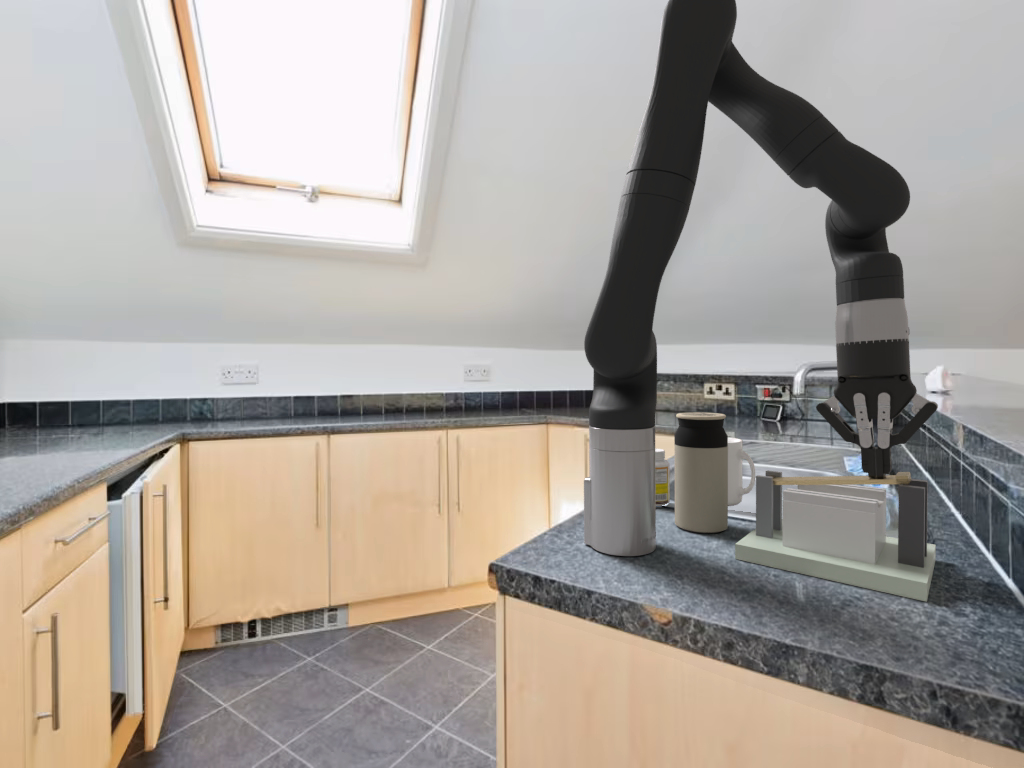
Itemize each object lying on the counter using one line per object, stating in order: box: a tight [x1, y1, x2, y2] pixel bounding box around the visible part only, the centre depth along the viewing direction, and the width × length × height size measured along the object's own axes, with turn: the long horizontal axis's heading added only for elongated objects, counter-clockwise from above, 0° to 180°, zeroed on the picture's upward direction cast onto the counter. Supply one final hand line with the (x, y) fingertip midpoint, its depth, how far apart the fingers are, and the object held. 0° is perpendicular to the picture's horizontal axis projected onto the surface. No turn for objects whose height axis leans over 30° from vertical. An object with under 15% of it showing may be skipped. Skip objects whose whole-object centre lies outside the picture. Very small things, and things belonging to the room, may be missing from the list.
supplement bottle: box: [655, 448, 671, 506], centre depth 98 cm, size 6×6×10 cm
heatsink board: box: [734, 470, 937, 602], centre depth 69 cm, size 20×16×11 cm
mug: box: [728, 436, 756, 507], centre depth 99 cm, size 10×12×12 cm
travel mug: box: [673, 411, 729, 534], centre depth 84 cm, size 8×8×18 cm
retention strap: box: [769, 471, 912, 486], centre depth 69 cm, size 17×3×1 cm, turn 48°
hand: (877, 476), depth 66 cm, fingers closed
